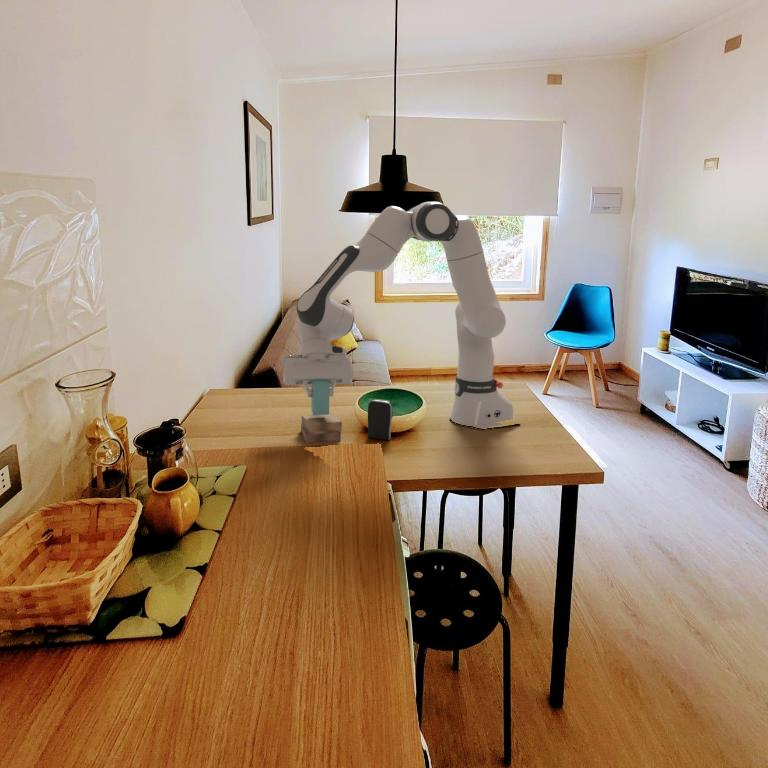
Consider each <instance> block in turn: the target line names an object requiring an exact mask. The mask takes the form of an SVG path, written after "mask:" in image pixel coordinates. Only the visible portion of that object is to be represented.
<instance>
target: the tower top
mask: <svg viewBox="0 0 768 768" xmlns="http://www.w3.org/2000/svg"><path fill="white" fill-rule="evenodd" d="M301 423H302V426H303V427H304V428H305V429H306V430H307V431H308V432H309V433H310V434H311V435H315V434H323V433H332V432H342V428H343V427H342V420H341V419H339V418H338V417H337V416H336V415H334V414H333V413H332V412H330V411H329V414H328V415H313V413H310V414H301Z"/></svg>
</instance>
